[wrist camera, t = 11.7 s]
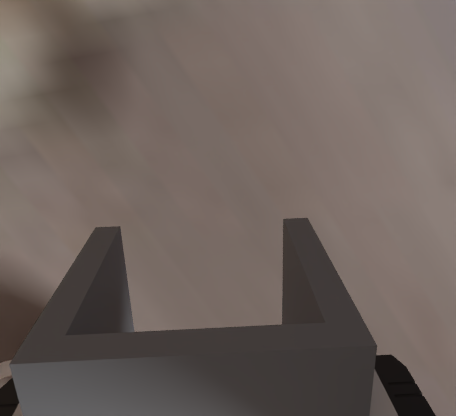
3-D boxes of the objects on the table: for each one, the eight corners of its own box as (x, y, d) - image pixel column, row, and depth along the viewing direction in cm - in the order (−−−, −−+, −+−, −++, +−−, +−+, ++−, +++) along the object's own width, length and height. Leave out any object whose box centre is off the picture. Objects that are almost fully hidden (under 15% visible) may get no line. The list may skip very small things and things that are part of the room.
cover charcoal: (95, 227, 14) (9, 364, 8) (307, 217, 14) (377, 345, 8) (121, 393, 17) (70, 593, 11) (302, 384, 17) (352, 575, 11)
